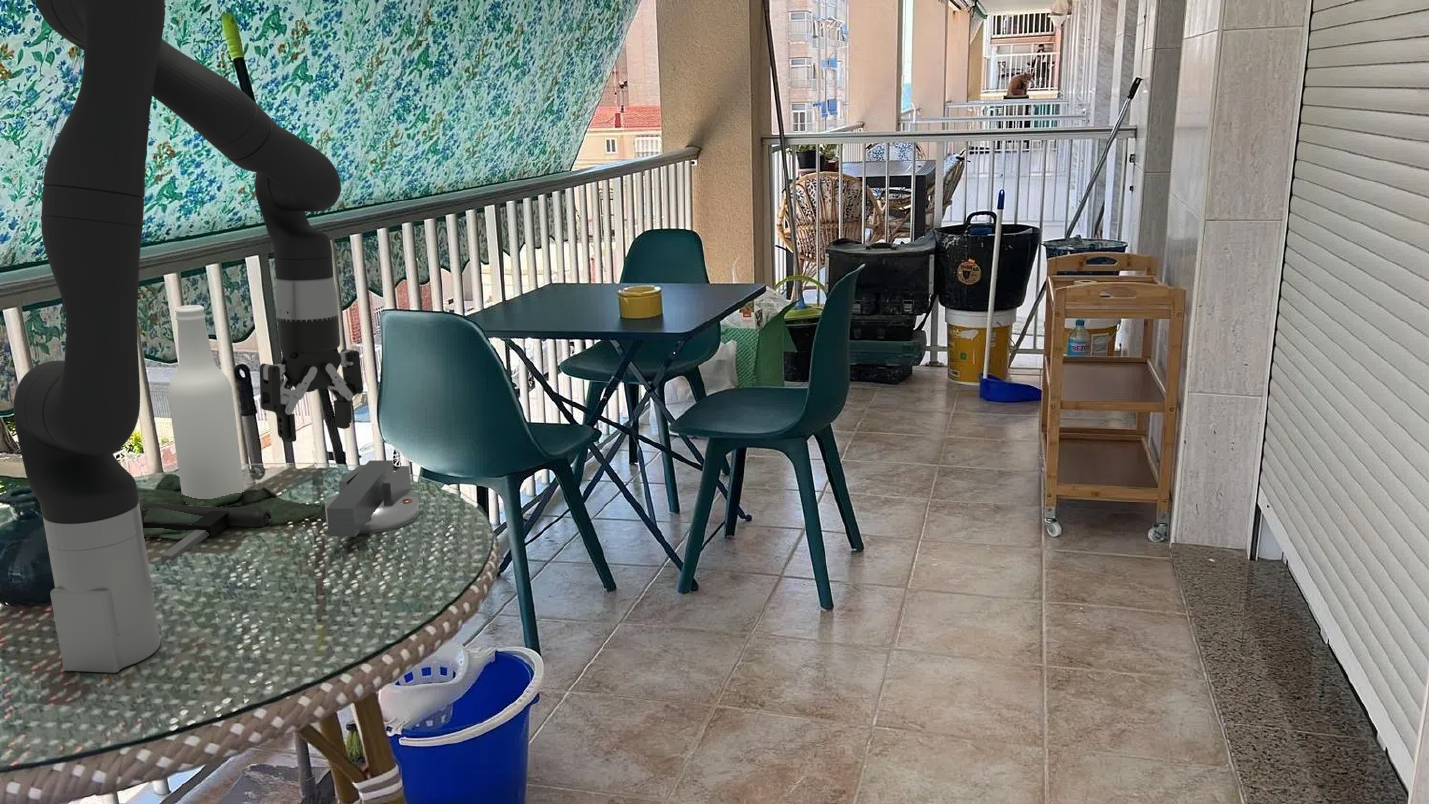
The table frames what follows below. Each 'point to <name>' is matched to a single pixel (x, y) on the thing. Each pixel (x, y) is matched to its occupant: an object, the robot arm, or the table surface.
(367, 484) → the bar
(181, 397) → the alcohol
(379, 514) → the slotted disc stand
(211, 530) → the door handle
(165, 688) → the table surface
